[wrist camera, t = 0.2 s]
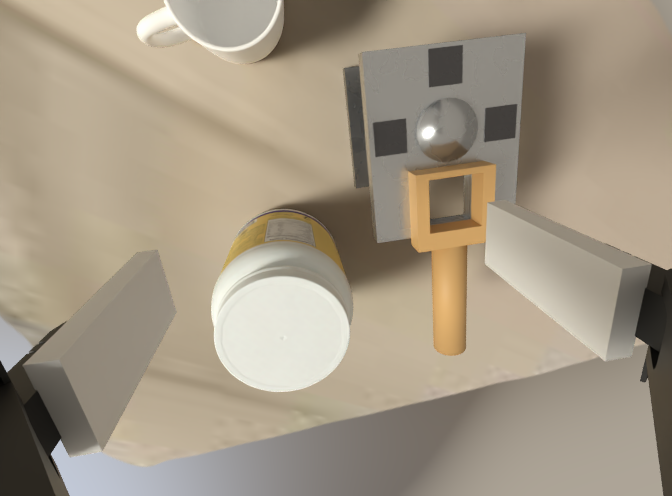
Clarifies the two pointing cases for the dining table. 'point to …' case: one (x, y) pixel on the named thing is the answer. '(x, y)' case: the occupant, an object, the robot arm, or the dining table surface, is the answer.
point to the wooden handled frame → (450, 246)
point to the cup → (218, 27)
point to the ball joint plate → (433, 120)
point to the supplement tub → (282, 303)
